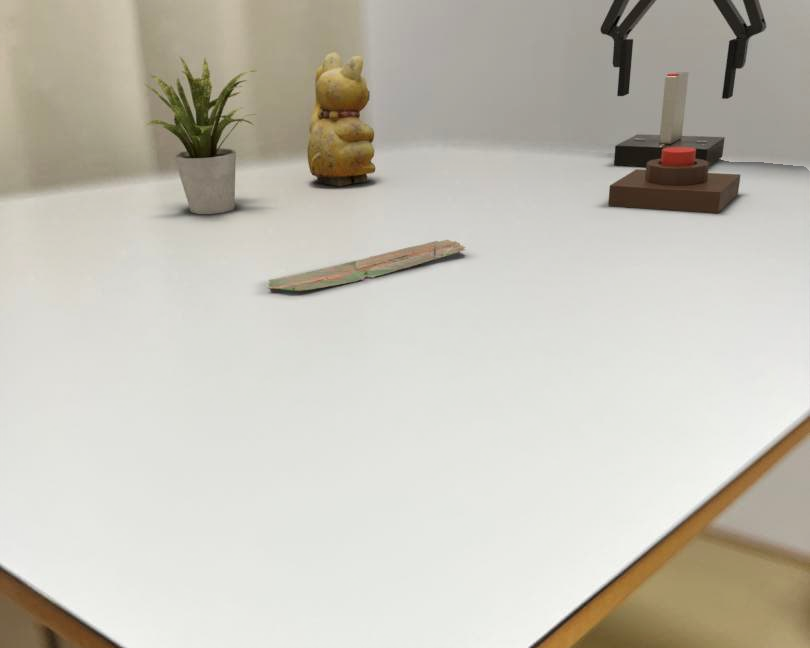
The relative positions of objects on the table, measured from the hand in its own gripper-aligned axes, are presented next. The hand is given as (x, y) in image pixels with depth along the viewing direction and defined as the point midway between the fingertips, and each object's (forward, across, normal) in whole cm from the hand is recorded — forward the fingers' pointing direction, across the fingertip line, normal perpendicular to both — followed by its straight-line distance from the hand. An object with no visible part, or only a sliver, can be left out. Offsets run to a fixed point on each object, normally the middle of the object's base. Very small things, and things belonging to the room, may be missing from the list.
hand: (673, 96), depth 122 cm
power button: (+4, +7, -24) cm, 25 cm away
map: (+8, -11, -61) cm, 63 cm away
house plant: (+8, -41, -45) cm, 61 cm away
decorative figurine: (+8, -36, -26) cm, 45 cm away
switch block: (+8, +7, -24) cm, 26 cm away
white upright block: (+5, 0, 0) cm, 5 cm away
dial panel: (+8, 0, 0) cm, 8 cm away
